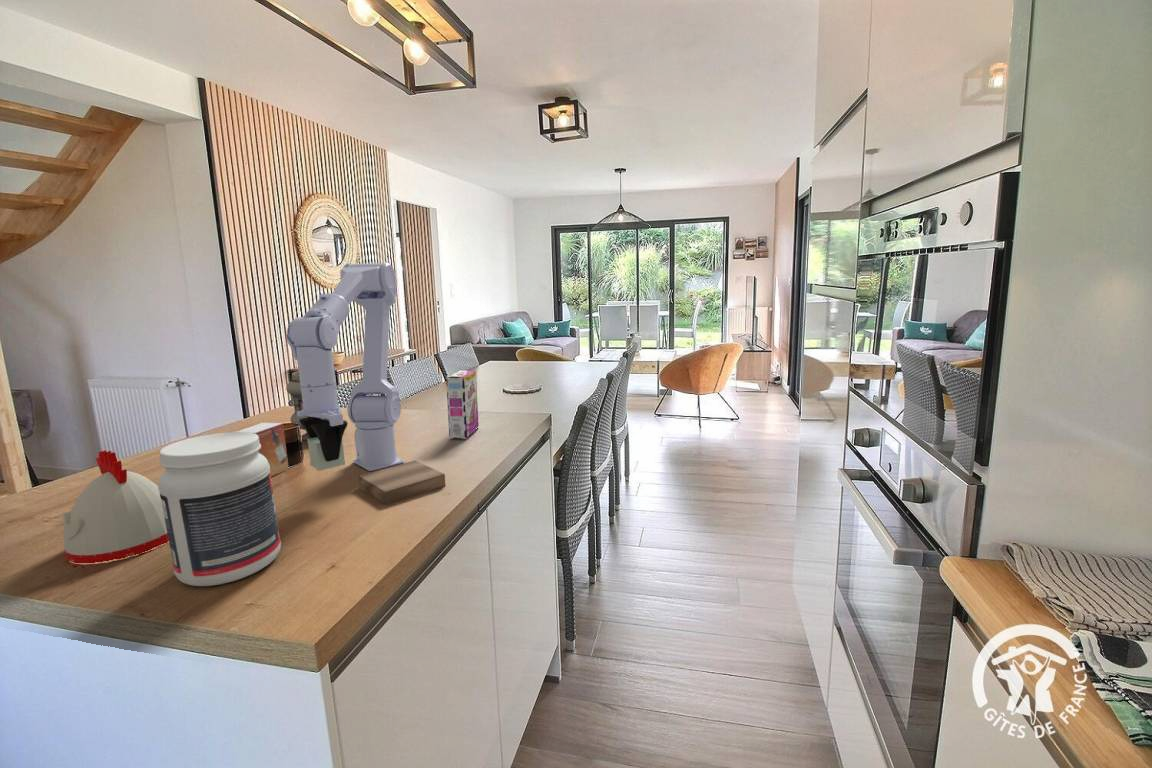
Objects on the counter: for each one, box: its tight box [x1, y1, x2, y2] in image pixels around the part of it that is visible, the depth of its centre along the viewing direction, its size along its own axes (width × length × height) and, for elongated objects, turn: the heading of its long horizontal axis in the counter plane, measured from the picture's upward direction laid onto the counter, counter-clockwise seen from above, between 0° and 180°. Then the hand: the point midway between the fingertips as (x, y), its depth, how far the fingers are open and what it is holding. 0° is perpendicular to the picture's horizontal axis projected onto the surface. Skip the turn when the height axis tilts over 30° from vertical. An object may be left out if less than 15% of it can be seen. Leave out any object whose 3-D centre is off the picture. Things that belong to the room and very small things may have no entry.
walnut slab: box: [358, 460, 446, 506], centre depth 103 cm, size 12×12×3 cm
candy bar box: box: [445, 369, 479, 440], centre depth 138 cm, size 11×5×16 cm, turn 174°
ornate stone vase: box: [286, 370, 342, 444], centre depth 138 cm, size 12×12×18 cm
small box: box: [235, 422, 289, 478], centre depth 111 cm, size 8×6×10 cm
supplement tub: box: [157, 431, 282, 587], centre depth 73 cm, size 13×13×18 cm
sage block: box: [307, 437, 346, 471], centre depth 96 cm, size 4×4×5 cm
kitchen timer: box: [62, 449, 169, 563], centre depth 82 cm, size 14×14×15 cm
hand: (327, 456), depth 96 cm, fingers closed on sage block, 4 cm apart
